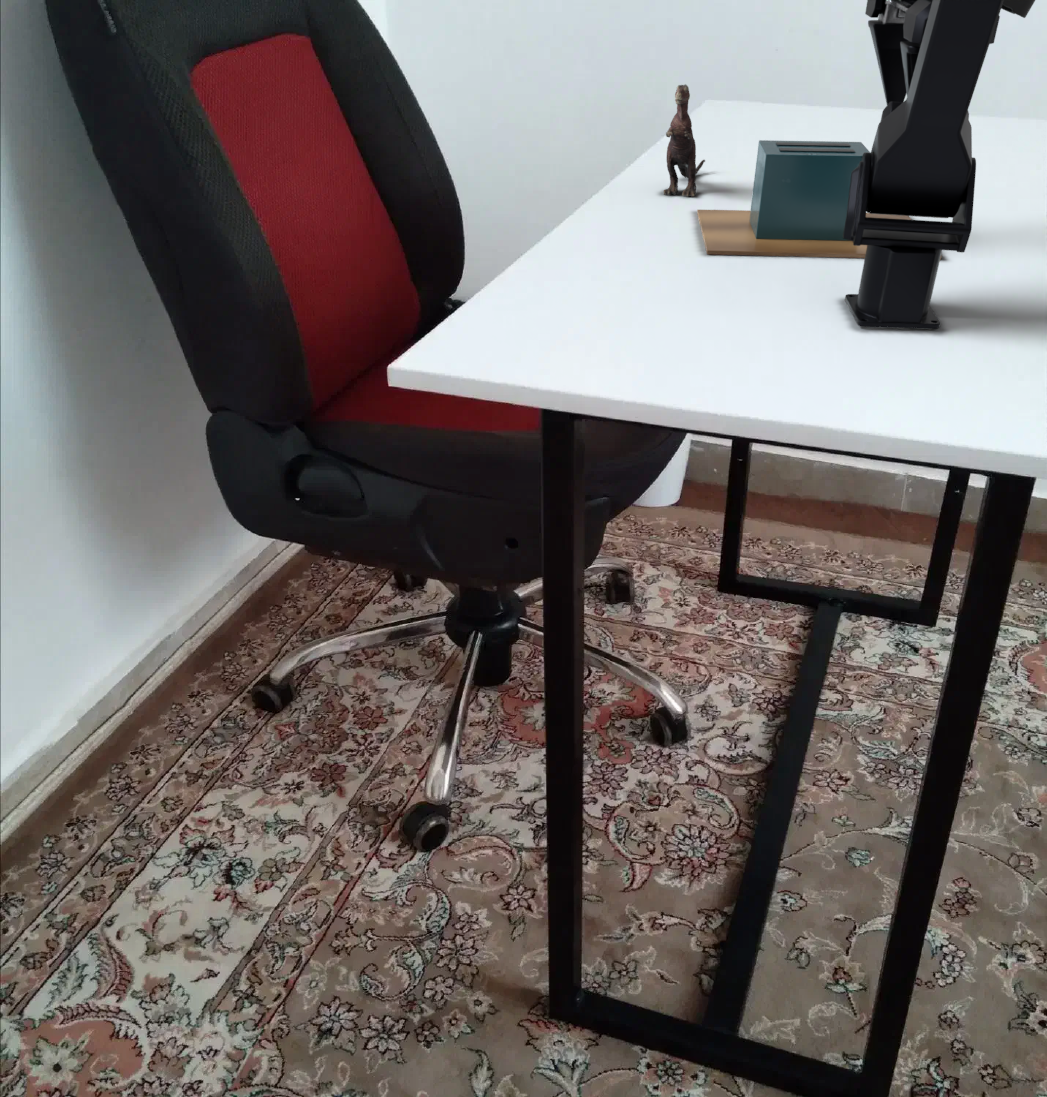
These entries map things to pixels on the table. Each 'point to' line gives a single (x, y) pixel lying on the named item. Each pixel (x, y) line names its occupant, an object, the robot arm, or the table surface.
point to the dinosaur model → (682, 146)
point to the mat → (736, 237)
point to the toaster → (803, 189)
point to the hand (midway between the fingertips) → (905, 120)
